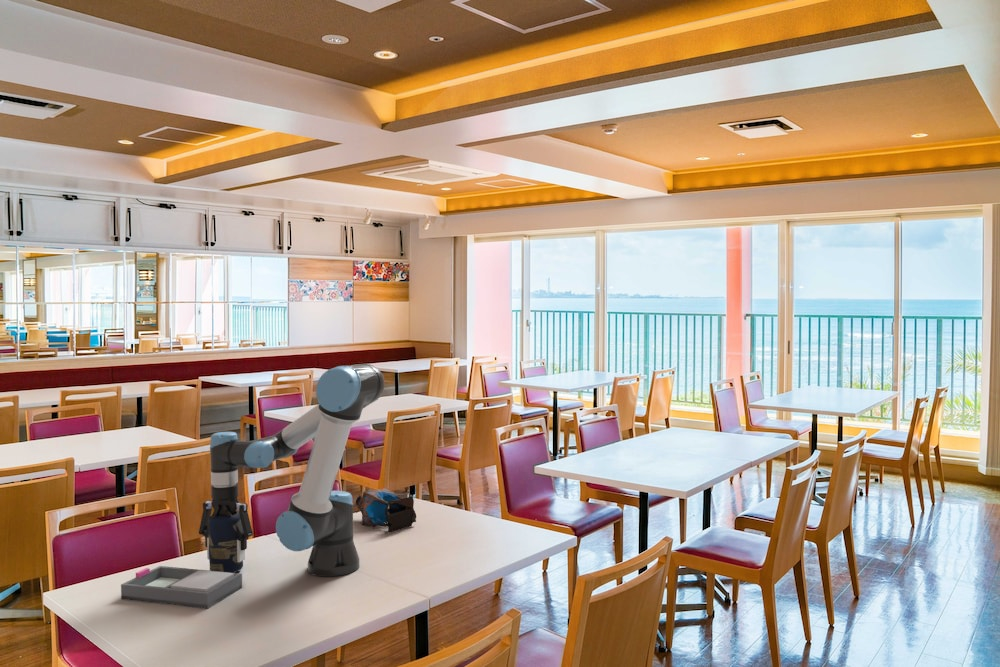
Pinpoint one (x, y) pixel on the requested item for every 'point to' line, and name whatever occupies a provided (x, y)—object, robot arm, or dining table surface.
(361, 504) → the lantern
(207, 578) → the grey divided tray
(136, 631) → the dining table surface
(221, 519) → the canister
